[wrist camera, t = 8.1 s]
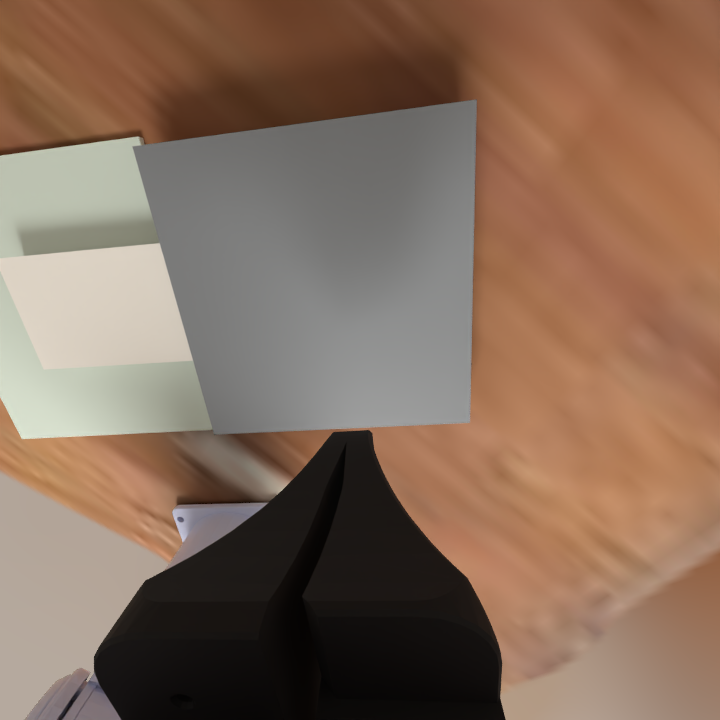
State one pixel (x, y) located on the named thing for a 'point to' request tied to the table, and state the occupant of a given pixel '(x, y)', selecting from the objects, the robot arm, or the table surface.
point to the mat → (76, 233)
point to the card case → (98, 307)
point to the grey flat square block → (324, 267)
